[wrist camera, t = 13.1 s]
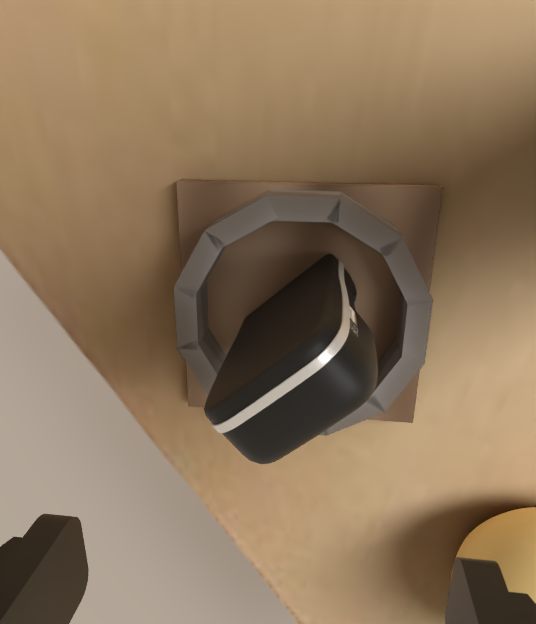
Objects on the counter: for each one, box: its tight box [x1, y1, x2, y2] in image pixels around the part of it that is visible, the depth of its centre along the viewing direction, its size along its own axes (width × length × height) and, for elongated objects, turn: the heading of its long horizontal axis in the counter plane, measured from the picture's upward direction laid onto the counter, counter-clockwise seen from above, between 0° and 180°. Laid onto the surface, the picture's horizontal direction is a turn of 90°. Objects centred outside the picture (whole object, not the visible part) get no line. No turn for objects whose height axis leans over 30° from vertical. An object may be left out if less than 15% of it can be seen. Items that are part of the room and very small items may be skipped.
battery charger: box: [204, 254, 378, 464], centre depth 24 cm, size 7×4×11 cm, turn 131°
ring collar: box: [174, 179, 443, 435], centre depth 29 cm, size 14×14×4 cm
